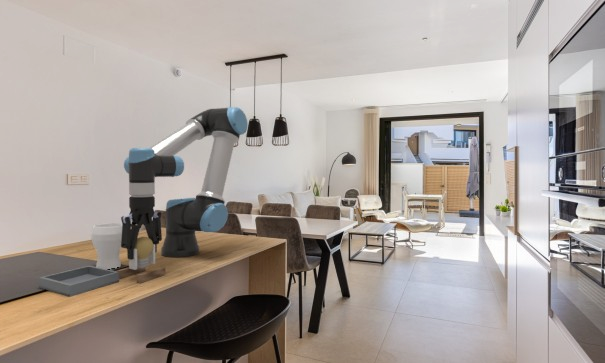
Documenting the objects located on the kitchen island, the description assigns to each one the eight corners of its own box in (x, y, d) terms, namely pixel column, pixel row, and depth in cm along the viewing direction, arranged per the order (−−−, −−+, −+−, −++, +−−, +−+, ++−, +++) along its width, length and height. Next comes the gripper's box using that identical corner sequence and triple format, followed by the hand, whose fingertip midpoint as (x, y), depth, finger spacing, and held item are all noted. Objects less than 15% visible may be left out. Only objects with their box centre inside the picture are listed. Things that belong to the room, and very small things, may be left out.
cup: (83, 269, 118) (84, 225, 118) (111, 261, 128) (111, 222, 128) (105, 273, 114) (105, 228, 114) (132, 265, 124) (132, 224, 124)
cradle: (143, 270, 118) (143, 263, 118) (165, 275, 114) (165, 267, 114) (116, 278, 109) (116, 270, 109) (139, 283, 105) (139, 275, 105)
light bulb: (145, 271, 108) (144, 239, 107) (127, 269, 109) (126, 238, 109) (157, 265, 114) (157, 235, 114) (140, 263, 116) (140, 234, 115)
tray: (89, 274, 112) (89, 265, 112) (118, 281, 106) (118, 272, 106) (39, 287, 99) (39, 277, 99) (69, 296, 93) (69, 285, 93)
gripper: (157, 193, 121) (158, 257, 122) (106, 197, 104) (107, 272, 105) (173, 194, 118) (173, 260, 119) (123, 198, 100) (123, 276, 101)
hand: (142, 265), depth 112 cm, fingers closed on light bulb, 6 cm apart
